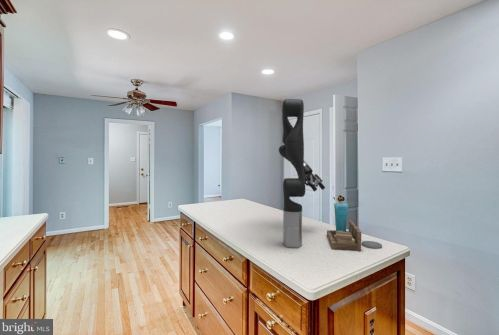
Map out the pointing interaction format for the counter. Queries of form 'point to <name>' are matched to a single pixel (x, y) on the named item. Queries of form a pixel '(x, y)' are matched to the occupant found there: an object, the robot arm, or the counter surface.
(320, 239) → the counter surface
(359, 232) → the rack
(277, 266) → the counter surface
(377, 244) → the coaster
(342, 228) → the tube
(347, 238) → the offcut stack
